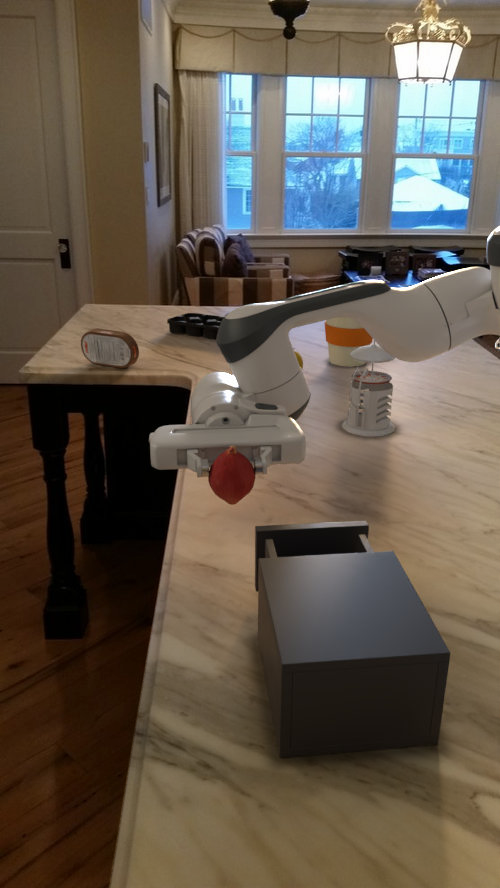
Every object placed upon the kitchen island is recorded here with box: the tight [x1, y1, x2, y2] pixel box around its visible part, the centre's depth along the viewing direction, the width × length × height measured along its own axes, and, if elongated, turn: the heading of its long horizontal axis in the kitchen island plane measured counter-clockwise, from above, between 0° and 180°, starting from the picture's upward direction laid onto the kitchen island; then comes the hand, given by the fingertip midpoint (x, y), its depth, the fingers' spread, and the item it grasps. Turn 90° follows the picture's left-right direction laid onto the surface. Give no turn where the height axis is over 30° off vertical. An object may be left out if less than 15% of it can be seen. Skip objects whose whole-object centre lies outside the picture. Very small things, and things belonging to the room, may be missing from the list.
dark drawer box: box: [257, 550, 451, 759], centre depth 65 cm, size 16×14×10 cm
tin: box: [80, 327, 140, 369], centre depth 165 cm, size 15×3×8 cm, turn 65°
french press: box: [341, 339, 396, 437], centre depth 125 cm, size 10×12×25 cm
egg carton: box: [166, 312, 224, 340], centre depth 195 cm, size 18×30×4 cm, turn 72°
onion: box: [207, 446, 256, 506], centre depth 87 cm, size 6×6×8 cm
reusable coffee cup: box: [324, 317, 374, 368], centre depth 168 cm, size 13×13×15 cm
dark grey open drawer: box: [254, 520, 375, 593], centre depth 74 cm, size 16×13×8 cm
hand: (232, 470), depth 86 cm, fingers closed on onion, 6 cm apart
